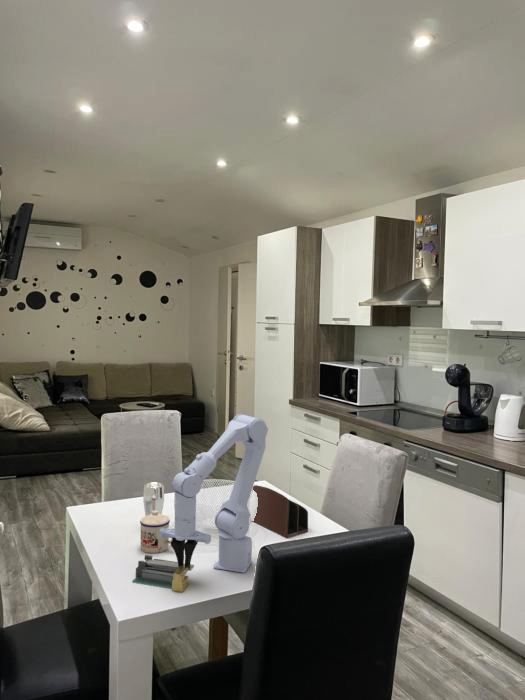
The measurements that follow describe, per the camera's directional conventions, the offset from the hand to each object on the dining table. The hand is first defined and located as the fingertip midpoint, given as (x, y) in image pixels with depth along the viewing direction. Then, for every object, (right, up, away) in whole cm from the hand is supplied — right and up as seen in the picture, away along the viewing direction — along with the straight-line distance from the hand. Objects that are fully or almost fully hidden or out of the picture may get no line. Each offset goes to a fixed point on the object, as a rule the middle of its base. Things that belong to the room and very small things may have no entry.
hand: (184, 565), depth 153 cm
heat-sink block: (-6, -4, +1) cm, 7 cm away
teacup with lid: (-11, -3, +20) cm, 23 cm away
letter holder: (+27, -3, +42) cm, 50 cm away
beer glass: (-16, -2, +37) cm, 40 cm away
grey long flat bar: (-5, -1, +1) cm, 5 cm away
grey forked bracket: (-11, -4, +3) cm, 12 cm away
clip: (0, -4, -5) cm, 6 cm away
